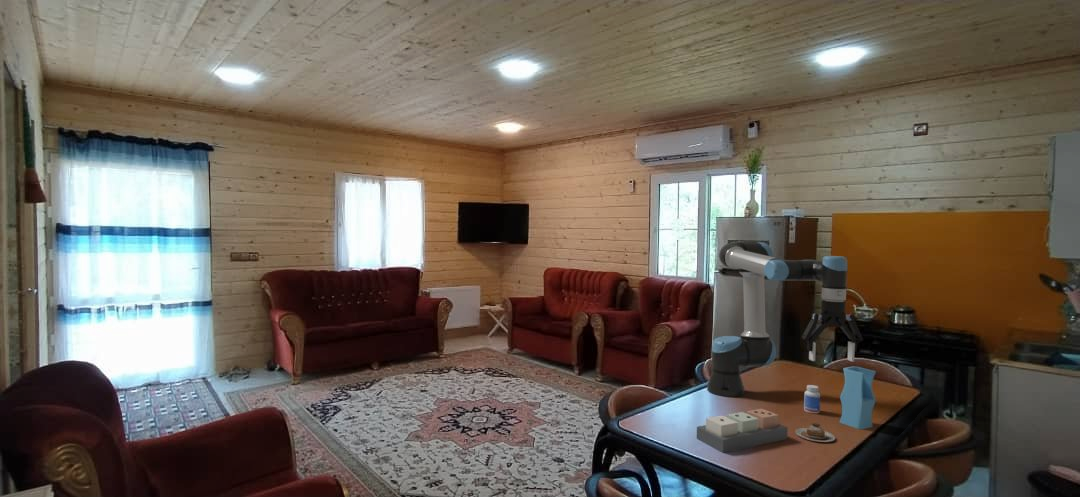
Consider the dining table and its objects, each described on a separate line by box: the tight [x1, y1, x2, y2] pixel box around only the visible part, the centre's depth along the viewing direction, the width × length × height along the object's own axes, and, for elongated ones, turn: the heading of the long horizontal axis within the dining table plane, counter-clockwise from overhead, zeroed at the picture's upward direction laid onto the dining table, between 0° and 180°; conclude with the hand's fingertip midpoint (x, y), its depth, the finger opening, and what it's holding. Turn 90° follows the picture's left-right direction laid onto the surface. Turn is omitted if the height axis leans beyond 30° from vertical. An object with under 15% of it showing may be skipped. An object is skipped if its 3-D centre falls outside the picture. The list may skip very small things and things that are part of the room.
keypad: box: [696, 423, 788, 453], centre depth 176 cm, size 12×28×4 cm, turn 114°
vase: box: [839, 366, 877, 430], centre depth 190 cm, size 8×8×20 cm
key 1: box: [705, 415, 738, 437], centre depth 172 cm, size 7×7×4 cm
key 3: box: [746, 408, 779, 429], centre depth 179 cm, size 7×7×4 cm
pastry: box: [795, 422, 836, 443], centre depth 179 cm, size 12×12×5 cm
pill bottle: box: [803, 384, 821, 414], centre depth 204 cm, size 6×5×10 cm
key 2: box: [726, 411, 759, 433], centre depth 176 cm, size 7×7×4 cm
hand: (831, 360), depth 185 cm, fingers open, 13 cm apart
